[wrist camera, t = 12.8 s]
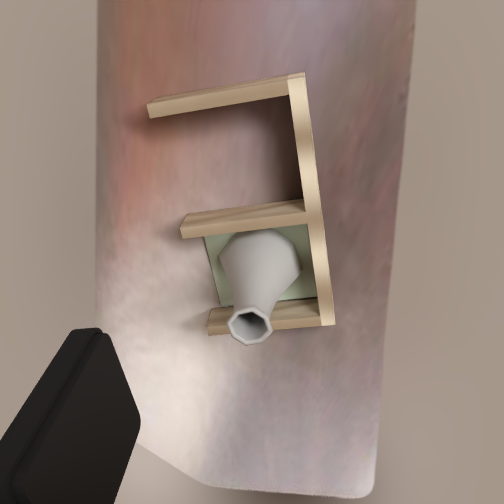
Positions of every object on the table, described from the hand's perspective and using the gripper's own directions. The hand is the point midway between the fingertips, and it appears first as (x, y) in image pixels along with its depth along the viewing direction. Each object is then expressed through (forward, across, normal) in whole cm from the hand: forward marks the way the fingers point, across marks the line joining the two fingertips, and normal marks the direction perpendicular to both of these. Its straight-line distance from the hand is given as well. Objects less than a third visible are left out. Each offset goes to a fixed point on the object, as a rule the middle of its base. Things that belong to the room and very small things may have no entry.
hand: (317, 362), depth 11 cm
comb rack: (+30, +6, +9) cm, 31 cm away
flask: (+29, +5, +14) cm, 33 cm away
